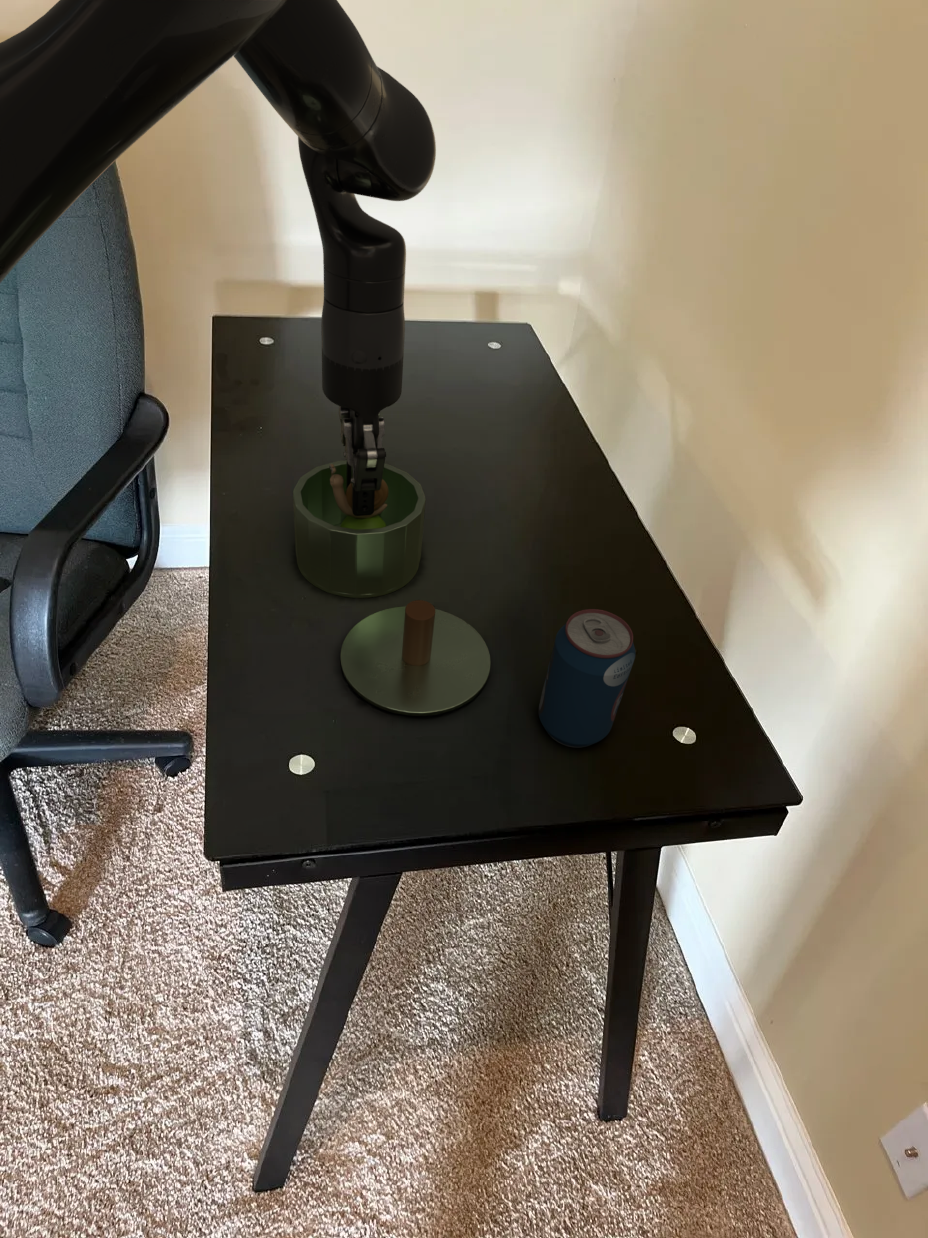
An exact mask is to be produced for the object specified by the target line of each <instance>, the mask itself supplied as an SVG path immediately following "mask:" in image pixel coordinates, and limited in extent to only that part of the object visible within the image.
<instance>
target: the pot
mask: <svg viewBox="0 0 928 1238" xmlns="http://www.w3.org/2000/svg"><path fill="white" fill-rule="evenodd" d="M330 464H333V465H334V468H335V469H336V472H335V473H334V474H333V473H332V475H335V474H338V475H341V476H342V477H343V479H344V483H343V489H344V492H345V495H346V490H347V488H346V473H347V460H336V461H332V462H329V463H325V464H322V465H318V466H316V467H314V468H312V469H311V470H309V471H308V472H306V473H305V474H303V475H301V476H300V478H299V479H298V480H297V483H296V485H295V487H294V488H293V490H292V500H293V501H292V503H293V524H294V525H293V526H294V545H295V547H294V548H295V557H296V564H297V569H298V570H299V572H300V573H301V575H302V577H303V578H304V579H305V580H306V581H307V582H308V583H310V585H312V586H314V587H315V588H317V589H319V590H322V591H323V592H325V593H328V594H331V595H335V596H339V597H344V598H350V599H369V598H375V597H376V598H377V597H381V596H385V595H389V594H392V593H394V592H396V591H398V590H400V589H402V588H403V587H405V586H407V585H408V584H409V583H410V582H411V581H412V580H413V579H414V577H415V576H416V574H417V573H418V570H419V568H420V567H419V566H420V561H421V559H422V549H423V536H424V525H425V524H424V523H425V512H426V501H427V498H426V496H425V493H424V490H423V487H422V485H421V483H420V482H419V481H417V480H416V479H415V478H414V477H413V476H412V475H410V474H409V473H408V472H406V470H405V471H404V470H402V469H400V468H398V467H396V466H393V465H390V464H388V463H386V462H385V464H384V470H383V476H382V479H383V480H384V481H385V482H386V484H387V486H388V497H387V500H386V501H385V503H384V504H387V507H386V508H385V510H384V511H383V512H381V513H380V514H379V515H378V516H379V517H381V518H382V519H383V521H384V522H385V524H386V527H383V528H375V529H360V530H355V529H350V528H344V527H340V526H341V524H342V522H343V521H344V519H345V518H346V517H347V516H348V515H345V514H344V513H343V512H342V511H341V510H340V509H339V507H338V505H337V503H336V500H335V496H334V493H333V488H332V486H331V484H330V478H331V477H332V475H331V469H330V468H329V466H330Z"/></svg>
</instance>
